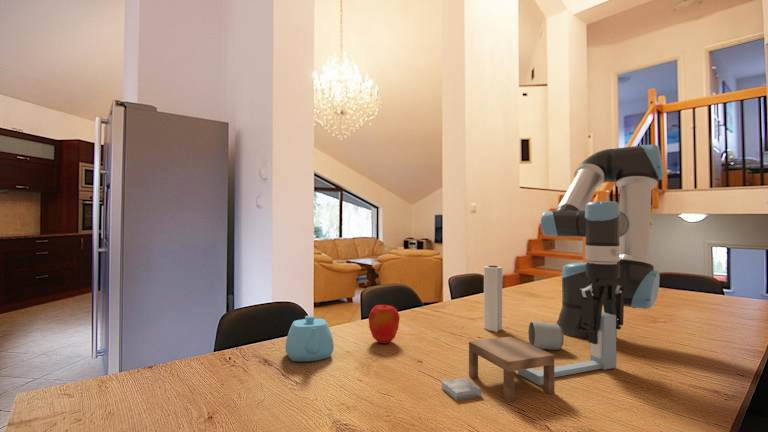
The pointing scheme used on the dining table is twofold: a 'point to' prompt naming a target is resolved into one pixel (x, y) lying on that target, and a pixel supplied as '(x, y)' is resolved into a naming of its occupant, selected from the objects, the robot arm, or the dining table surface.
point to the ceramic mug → (545, 335)
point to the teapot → (309, 340)
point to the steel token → (461, 389)
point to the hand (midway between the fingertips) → (603, 354)
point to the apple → (384, 323)
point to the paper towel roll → (493, 298)
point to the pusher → (596, 363)
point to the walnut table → (511, 360)
